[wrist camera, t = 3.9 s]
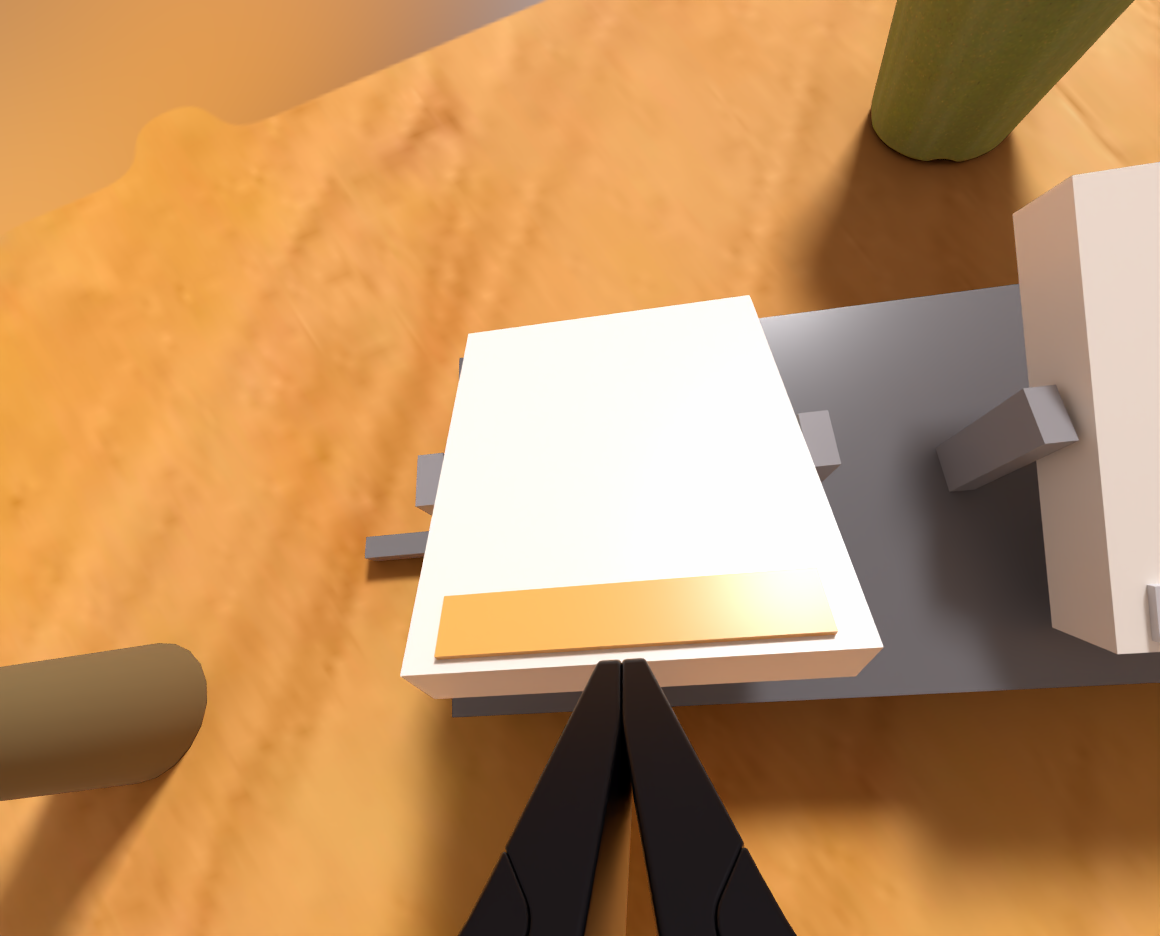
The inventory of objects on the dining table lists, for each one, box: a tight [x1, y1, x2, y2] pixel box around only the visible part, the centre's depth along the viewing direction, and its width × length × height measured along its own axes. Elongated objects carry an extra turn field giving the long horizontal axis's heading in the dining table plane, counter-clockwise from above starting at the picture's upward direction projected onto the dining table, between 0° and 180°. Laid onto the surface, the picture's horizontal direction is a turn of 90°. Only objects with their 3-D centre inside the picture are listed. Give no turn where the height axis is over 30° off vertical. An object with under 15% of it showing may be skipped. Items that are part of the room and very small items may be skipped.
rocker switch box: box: [365, 284, 1160, 717], centre depth 18 cm, size 14×36×10 cm, turn 93°
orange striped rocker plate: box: [400, 295, 883, 699], centre depth 15 cm, size 12×10×2 cm
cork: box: [0, 643, 207, 801], centre depth 19 cm, size 6×6×11 cm
